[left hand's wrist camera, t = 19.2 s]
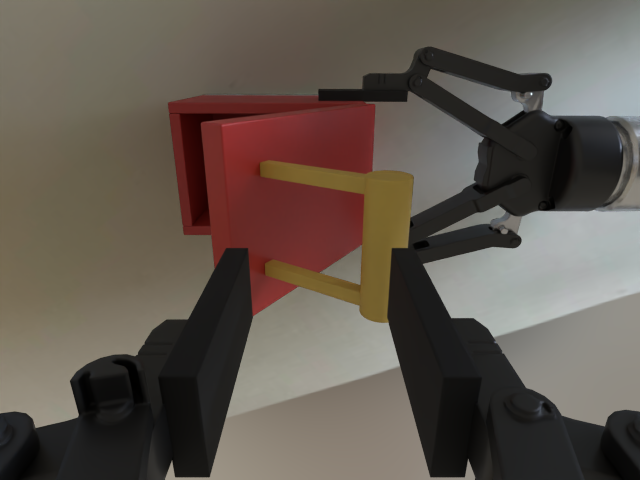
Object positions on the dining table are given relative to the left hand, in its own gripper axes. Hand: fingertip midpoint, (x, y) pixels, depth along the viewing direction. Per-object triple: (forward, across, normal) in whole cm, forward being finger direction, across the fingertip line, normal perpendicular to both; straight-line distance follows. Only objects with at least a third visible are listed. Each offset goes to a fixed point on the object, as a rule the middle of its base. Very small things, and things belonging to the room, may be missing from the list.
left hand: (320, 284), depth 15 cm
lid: (+11, +1, 0) cm, 12 cm away
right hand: (+21, 0, 0) cm, 21 cm away
